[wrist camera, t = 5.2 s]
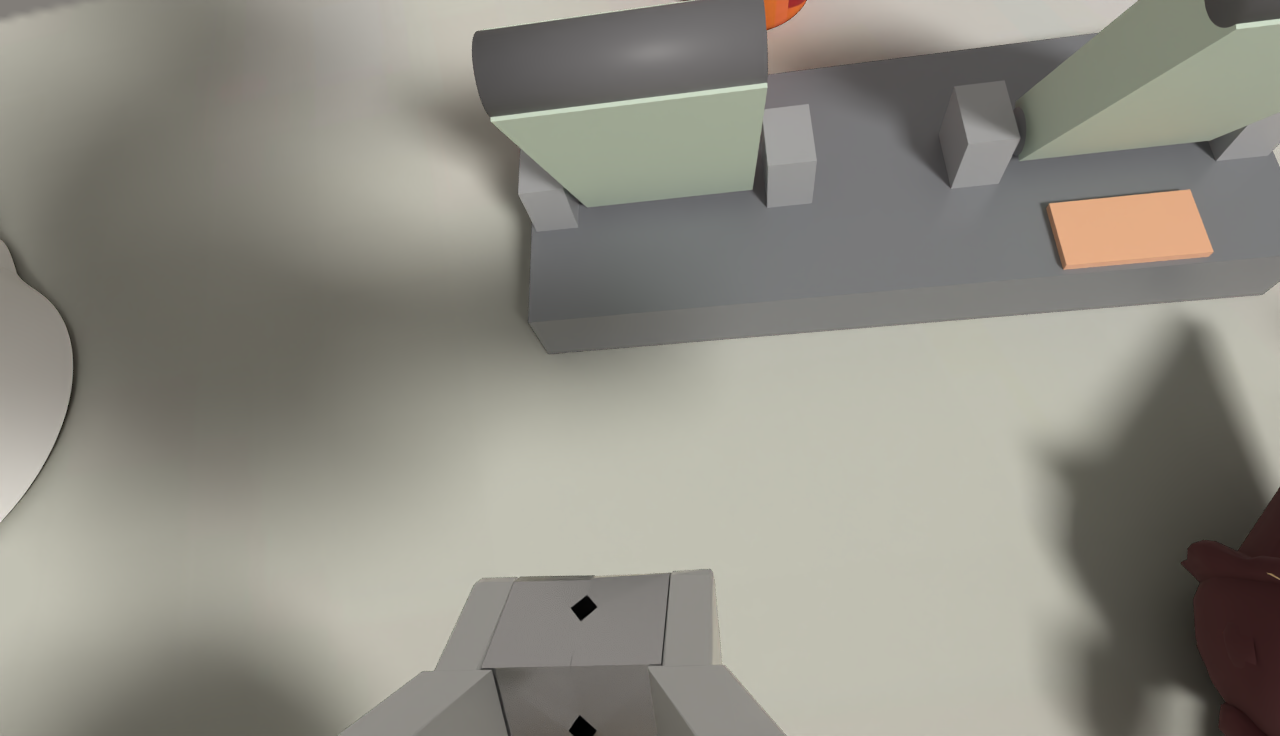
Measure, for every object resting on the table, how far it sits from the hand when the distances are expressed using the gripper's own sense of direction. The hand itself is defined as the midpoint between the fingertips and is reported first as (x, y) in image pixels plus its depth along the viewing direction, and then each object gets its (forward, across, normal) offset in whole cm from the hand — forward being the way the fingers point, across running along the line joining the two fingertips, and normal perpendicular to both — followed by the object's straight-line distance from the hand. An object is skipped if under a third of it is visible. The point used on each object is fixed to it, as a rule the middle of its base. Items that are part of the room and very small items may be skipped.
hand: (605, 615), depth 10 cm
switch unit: (+23, -7, 0) cm, 24 cm away
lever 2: (+20, -15, -3) cm, 25 cm away
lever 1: (+20, 0, -3) cm, 20 cm away
